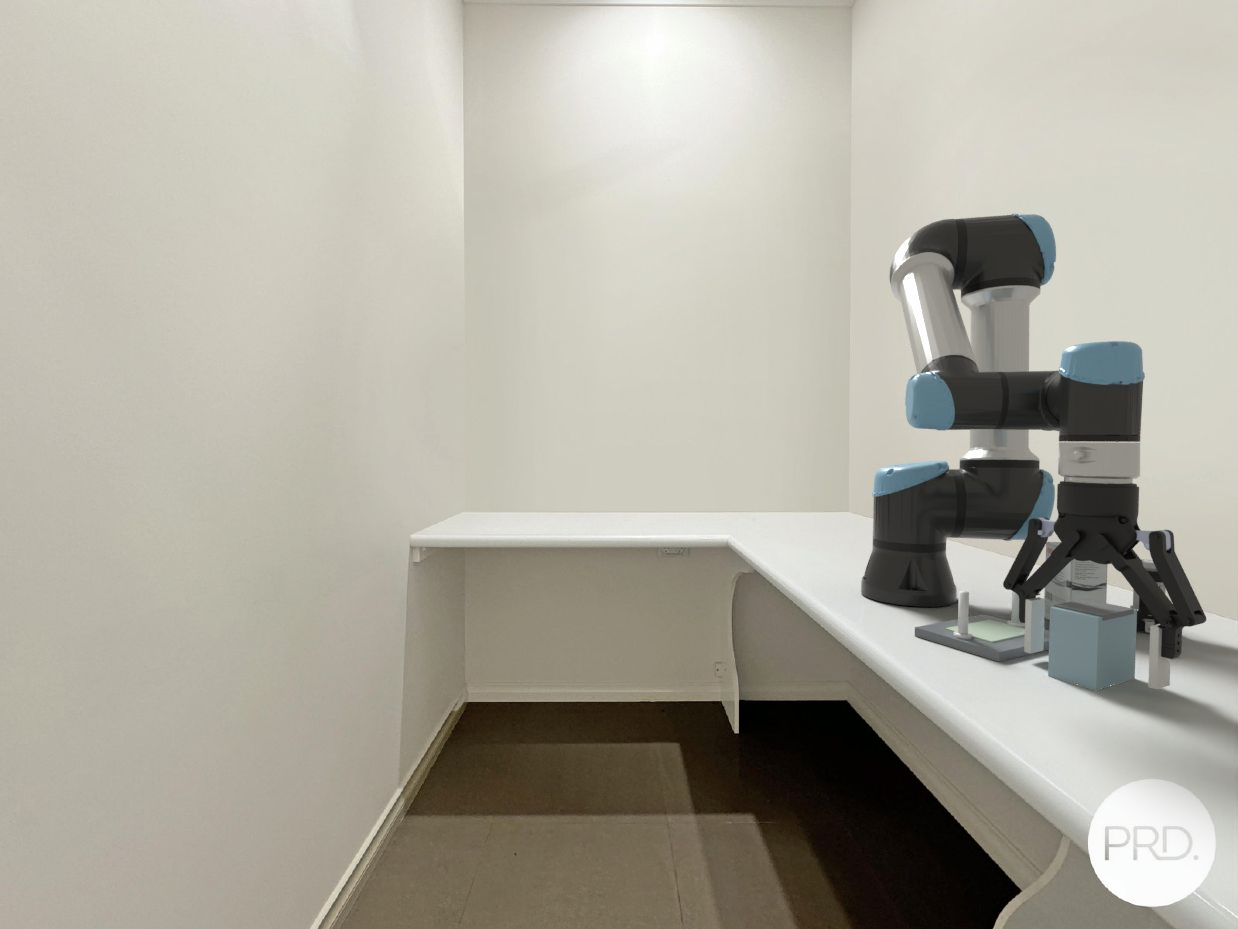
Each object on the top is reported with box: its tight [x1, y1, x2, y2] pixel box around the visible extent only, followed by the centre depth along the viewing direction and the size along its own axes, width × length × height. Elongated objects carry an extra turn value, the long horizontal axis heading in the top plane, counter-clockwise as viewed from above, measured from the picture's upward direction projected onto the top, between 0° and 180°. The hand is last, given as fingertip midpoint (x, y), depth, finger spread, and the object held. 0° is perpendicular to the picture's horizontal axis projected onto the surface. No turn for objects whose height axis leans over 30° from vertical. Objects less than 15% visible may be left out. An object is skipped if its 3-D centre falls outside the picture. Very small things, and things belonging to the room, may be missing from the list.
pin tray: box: [914, 590, 1050, 663], centre depth 89 cm, size 12×15×7 cm
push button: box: [1129, 558, 1167, 634], centre depth 94 cm, size 7×5×10 cm
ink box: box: [1043, 541, 1109, 621], centre depth 97 cm, size 8×5×12 cm, turn 168°
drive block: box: [1047, 599, 1137, 691], centre depth 75 cm, size 5×8×8 cm, turn 118°
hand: (1091, 667), depth 75 cm, fingers open, 12 cm apart
